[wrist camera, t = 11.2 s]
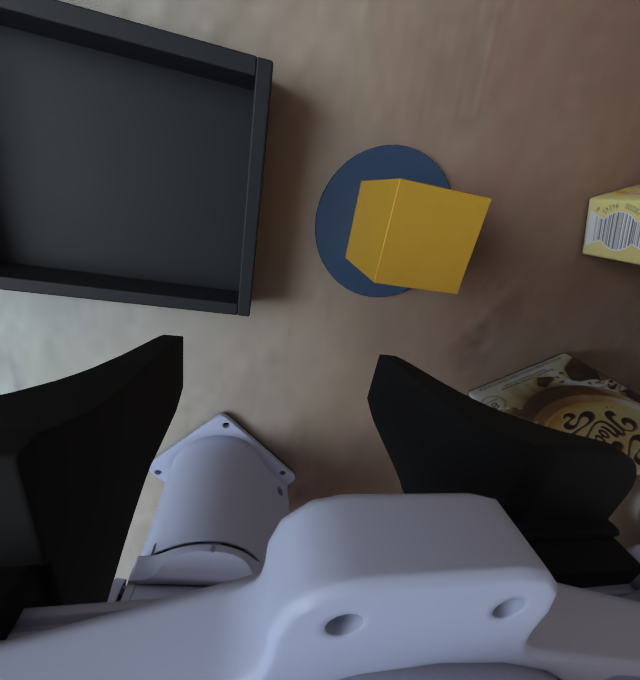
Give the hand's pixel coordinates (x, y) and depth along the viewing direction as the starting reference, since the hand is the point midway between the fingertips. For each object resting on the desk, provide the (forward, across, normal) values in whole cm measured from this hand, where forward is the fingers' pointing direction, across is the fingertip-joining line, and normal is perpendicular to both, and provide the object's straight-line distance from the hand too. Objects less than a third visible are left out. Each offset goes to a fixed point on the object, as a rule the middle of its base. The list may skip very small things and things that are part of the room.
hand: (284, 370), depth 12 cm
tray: (+10, +9, -5) cm, 15 cm away
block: (+10, -6, -5) cm, 13 cm away
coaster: (+10, -6, -5) cm, 13 cm away
